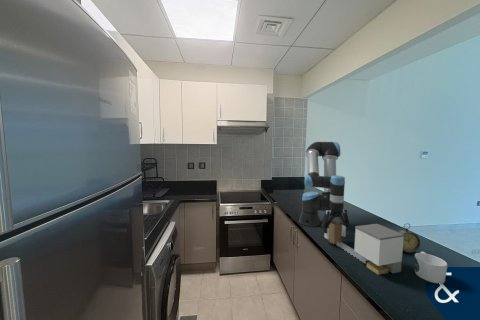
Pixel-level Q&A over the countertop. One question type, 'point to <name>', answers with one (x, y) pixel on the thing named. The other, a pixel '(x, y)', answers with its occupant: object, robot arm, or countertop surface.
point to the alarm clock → (410, 240)
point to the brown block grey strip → (335, 238)
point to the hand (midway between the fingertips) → (334, 237)
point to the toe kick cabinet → (380, 245)
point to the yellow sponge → (377, 268)
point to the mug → (430, 267)
